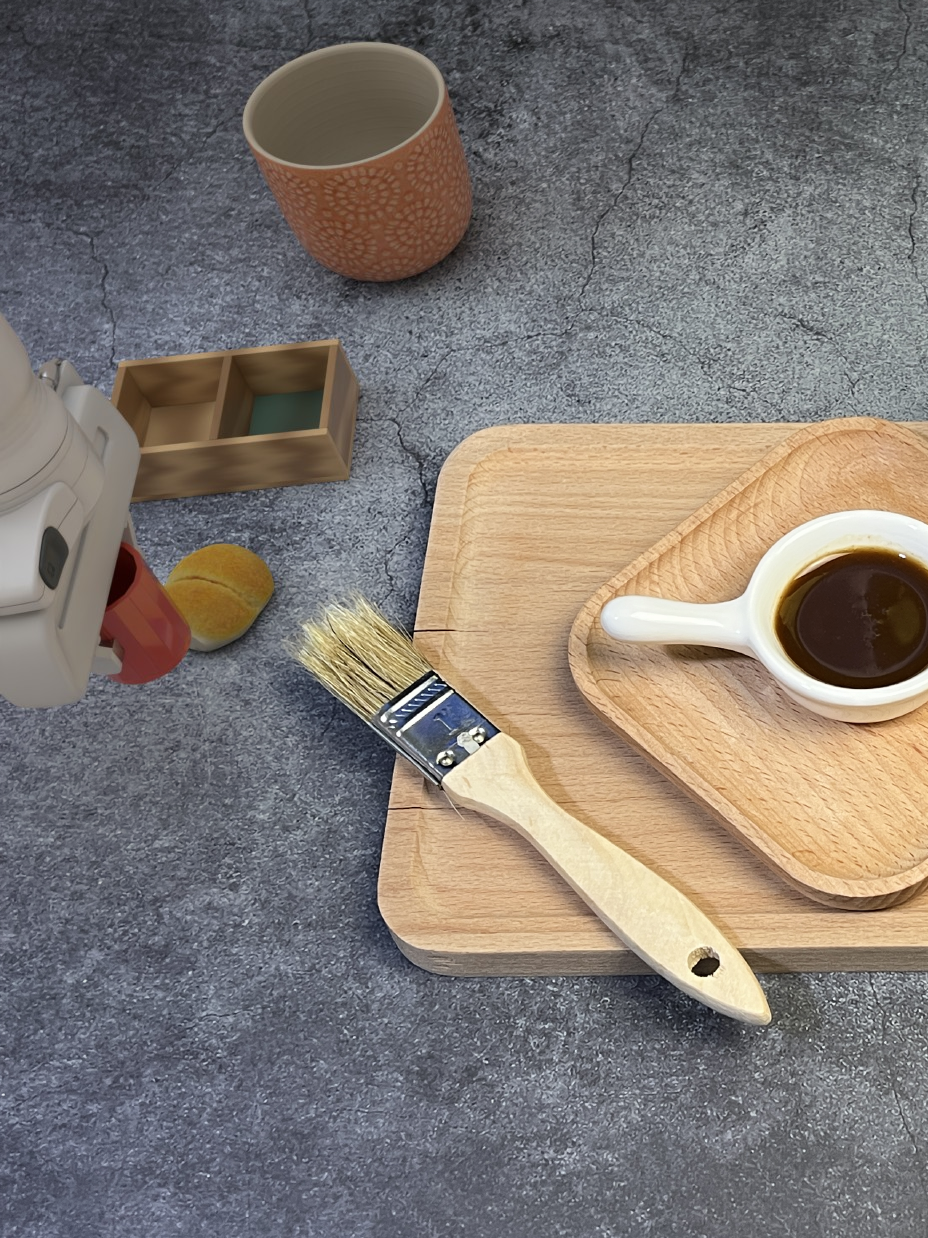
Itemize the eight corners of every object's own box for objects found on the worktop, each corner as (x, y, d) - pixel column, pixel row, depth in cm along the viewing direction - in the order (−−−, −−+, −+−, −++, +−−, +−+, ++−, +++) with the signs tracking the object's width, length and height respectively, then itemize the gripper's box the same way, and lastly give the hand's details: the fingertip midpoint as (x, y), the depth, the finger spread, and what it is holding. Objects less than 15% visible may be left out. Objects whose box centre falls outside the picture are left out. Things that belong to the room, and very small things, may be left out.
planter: (272, 238, 140) (207, 98, 128) (431, 158, 146) (383, 16, 133) (359, 336, 133) (299, 198, 120) (523, 248, 138) (482, 107, 125)
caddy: (127, 503, 123) (95, 458, 118) (148, 407, 129) (119, 361, 124) (349, 479, 123) (326, 434, 119) (360, 385, 129) (338, 338, 125)
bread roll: (294, 572, 118) (276, 541, 115) (233, 664, 114) (212, 634, 110) (205, 548, 120) (184, 516, 117) (140, 637, 115) (117, 607, 112)
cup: (89, 689, 96) (32, 623, 90) (107, 613, 100) (53, 543, 94) (183, 680, 97) (132, 613, 90) (198, 604, 100) (150, 534, 94)
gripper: (-2, 346, 90) (103, 494, 101) (-93, 629, 78) (38, 760, 90) (104, 336, 90) (197, 485, 101) (29, 617, 78) (144, 749, 90)
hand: (122, 616), depth 95 cm, fingers closed on cup, 6 cm apart
